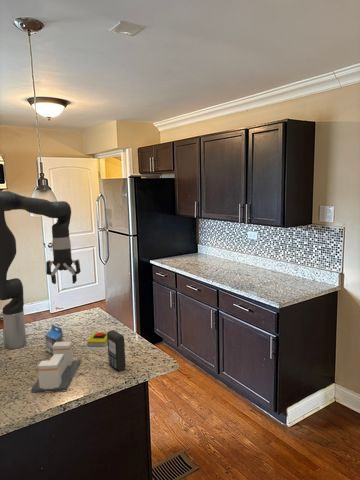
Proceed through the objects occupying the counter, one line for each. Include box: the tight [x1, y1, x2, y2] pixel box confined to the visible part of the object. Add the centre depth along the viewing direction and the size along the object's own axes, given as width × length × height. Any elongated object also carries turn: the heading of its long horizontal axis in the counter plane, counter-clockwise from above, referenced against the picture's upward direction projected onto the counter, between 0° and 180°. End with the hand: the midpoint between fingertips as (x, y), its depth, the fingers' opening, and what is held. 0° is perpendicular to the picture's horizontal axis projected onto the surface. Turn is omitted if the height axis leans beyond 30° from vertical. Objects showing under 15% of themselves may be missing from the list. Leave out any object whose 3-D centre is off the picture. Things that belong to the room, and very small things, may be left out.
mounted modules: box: [37, 341, 74, 388], centre depth 144 cm, size 7×21×9 cm, turn 2°
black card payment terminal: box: [107, 330, 126, 372], centre depth 150 cm, size 9×4×15 cm, turn 39°
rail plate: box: [30, 359, 81, 393], centre depth 145 cm, size 13×22×1 cm, turn 2°
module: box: [48, 354, 65, 376], centre depth 144 cm, size 4×6×7 cm
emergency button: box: [85, 331, 108, 350], centre depth 176 cm, size 9×4×15 cm
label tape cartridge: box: [44, 324, 64, 355], centre depth 165 cm, size 9×4×12 cm, turn 52°
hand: (64, 283), depth 158 cm, fingers open, 8 cm apart
